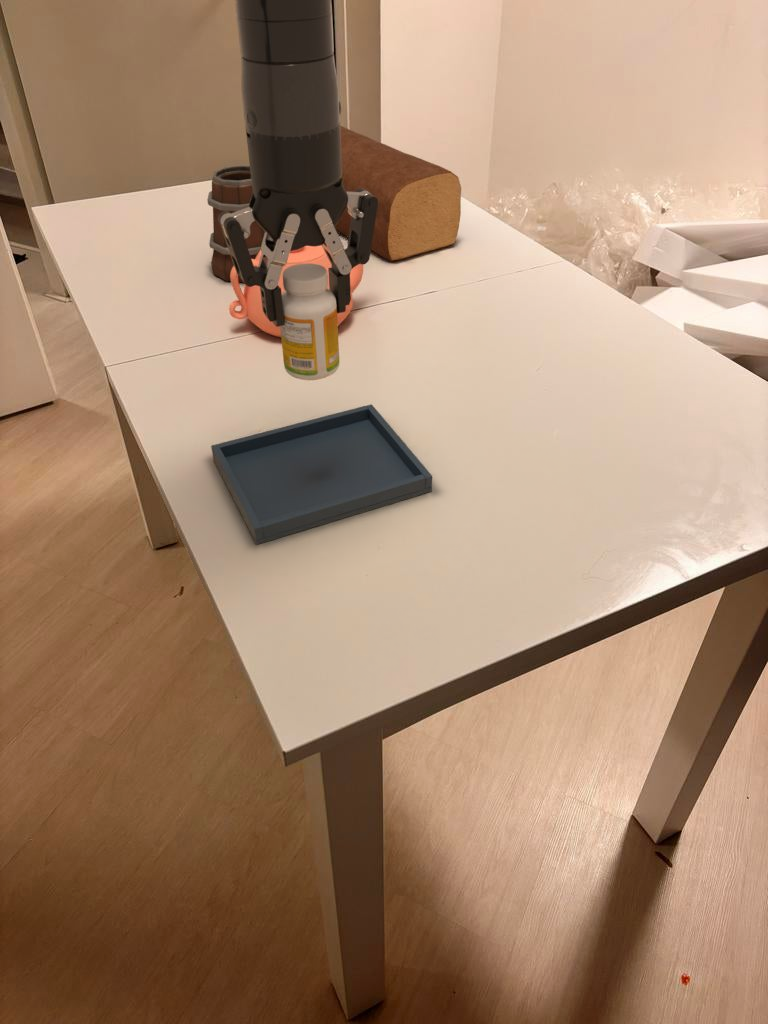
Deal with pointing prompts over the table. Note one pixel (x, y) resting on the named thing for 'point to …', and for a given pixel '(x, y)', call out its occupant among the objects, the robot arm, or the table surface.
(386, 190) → the bread
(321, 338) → the supplement bottle
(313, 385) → the table surface
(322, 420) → the tray
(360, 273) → the teapot
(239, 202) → the mug
